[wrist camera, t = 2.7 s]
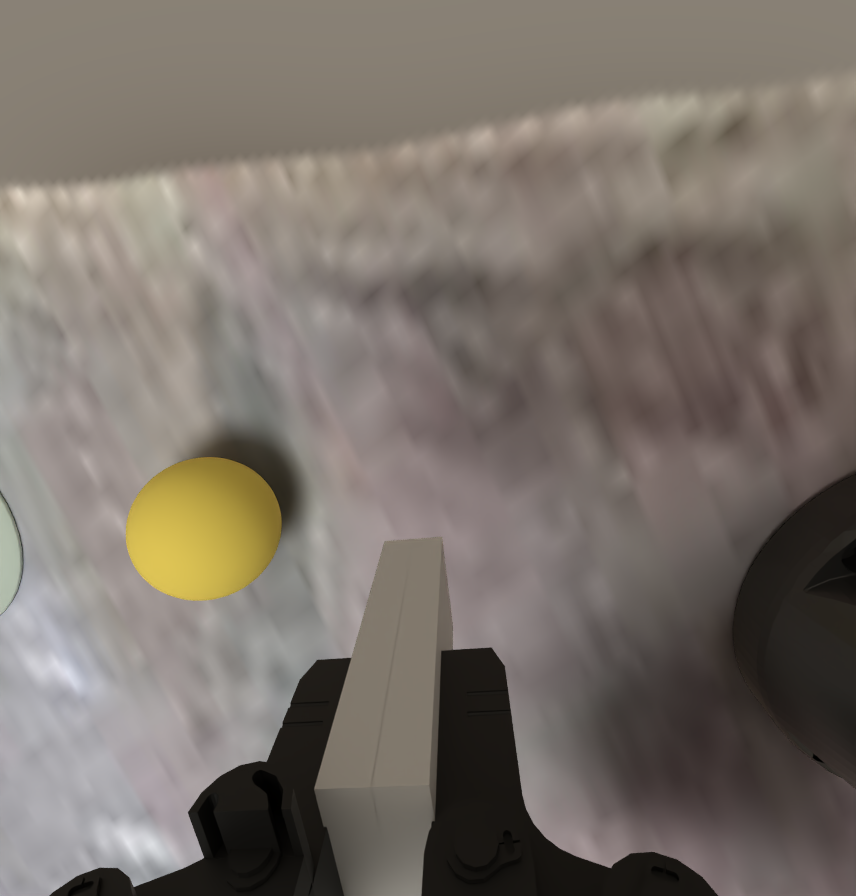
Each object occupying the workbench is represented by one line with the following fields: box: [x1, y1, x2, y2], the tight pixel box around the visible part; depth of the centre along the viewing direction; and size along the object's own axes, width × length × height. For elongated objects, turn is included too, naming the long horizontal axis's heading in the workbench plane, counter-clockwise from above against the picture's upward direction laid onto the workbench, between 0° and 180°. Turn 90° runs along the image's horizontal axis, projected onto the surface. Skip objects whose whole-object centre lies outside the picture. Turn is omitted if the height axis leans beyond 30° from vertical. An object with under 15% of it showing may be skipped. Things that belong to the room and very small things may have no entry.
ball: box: [126, 457, 282, 601], centre depth 19 cm, size 6×6×6 cm
